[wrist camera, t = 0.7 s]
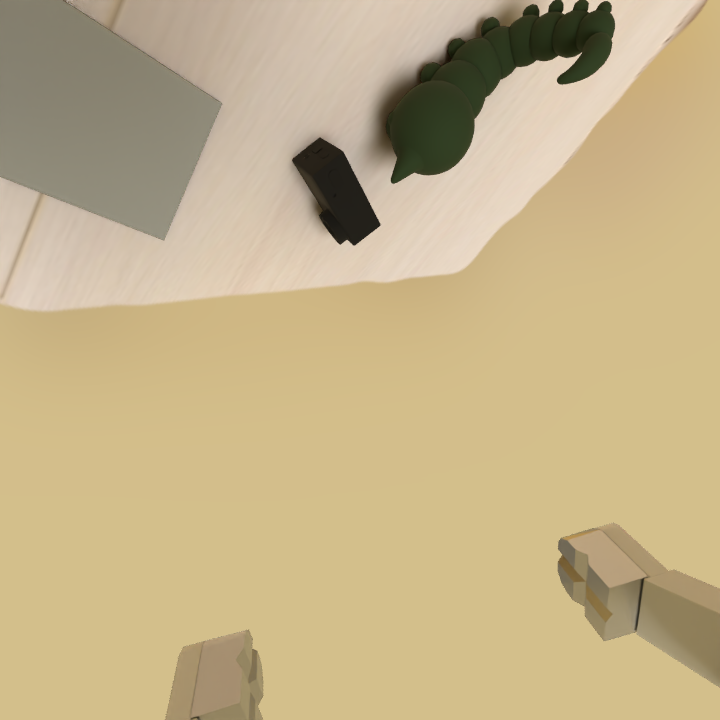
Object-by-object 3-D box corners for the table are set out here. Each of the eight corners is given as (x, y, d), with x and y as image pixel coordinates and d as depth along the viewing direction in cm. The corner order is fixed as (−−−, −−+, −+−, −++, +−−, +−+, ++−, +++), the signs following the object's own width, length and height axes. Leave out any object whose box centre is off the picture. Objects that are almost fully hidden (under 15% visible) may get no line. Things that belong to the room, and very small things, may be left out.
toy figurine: (486, -20, 49) (335, 135, 49) (644, -43, 36) (434, 169, 36) (507, 60, 55) (373, 195, 56) (645, 66, 42) (469, 242, 43)
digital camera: (282, 164, 49) (302, 182, 45) (319, 136, 49) (343, 150, 44) (325, 231, 57) (346, 252, 52) (357, 206, 57) (381, 225, 52)
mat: (-48, 156, 37) (-50, 157, 37) (-6, -45, 31) (-7, -45, 31) (163, 239, 48) (164, 240, 48) (221, 102, 43) (221, 103, 43)
